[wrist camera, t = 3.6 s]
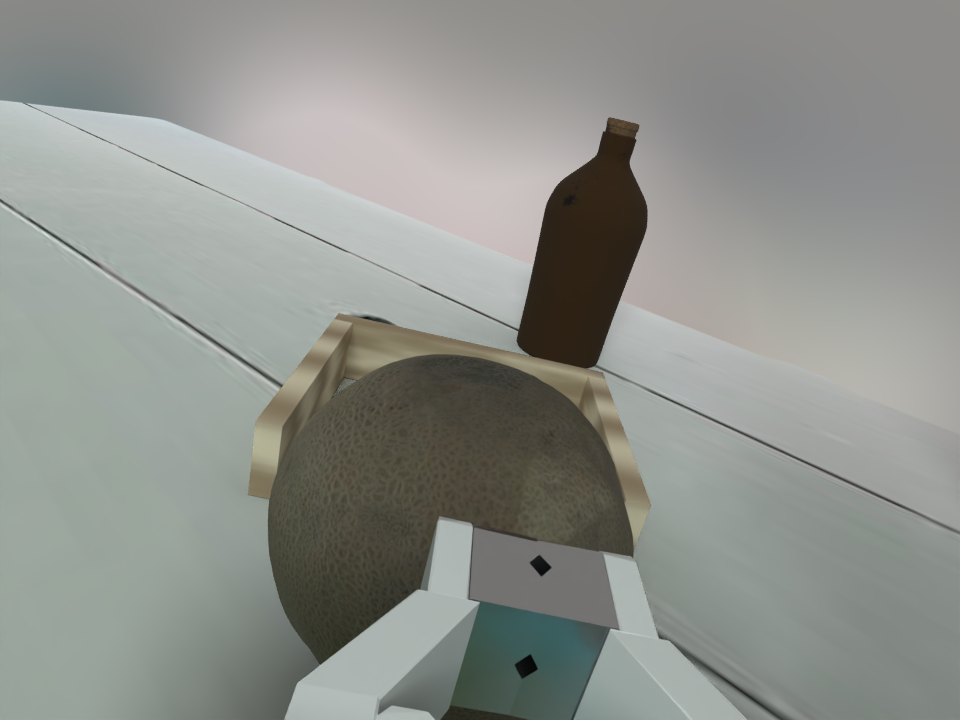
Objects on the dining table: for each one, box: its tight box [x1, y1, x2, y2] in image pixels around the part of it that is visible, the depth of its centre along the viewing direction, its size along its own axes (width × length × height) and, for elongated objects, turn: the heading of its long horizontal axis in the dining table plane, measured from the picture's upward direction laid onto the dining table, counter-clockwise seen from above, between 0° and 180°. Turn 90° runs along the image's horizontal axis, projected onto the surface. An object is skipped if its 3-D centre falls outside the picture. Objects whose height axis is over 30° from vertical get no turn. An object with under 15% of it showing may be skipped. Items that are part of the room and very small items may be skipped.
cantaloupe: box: [268, 354, 634, 720], centre depth 26 cm, size 14×14×15 cm
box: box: [248, 313, 651, 548], centre depth 46 cm, size 20×23×5 cm
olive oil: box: [517, 118, 647, 368], centre depth 68 cm, size 11×11×25 cm
